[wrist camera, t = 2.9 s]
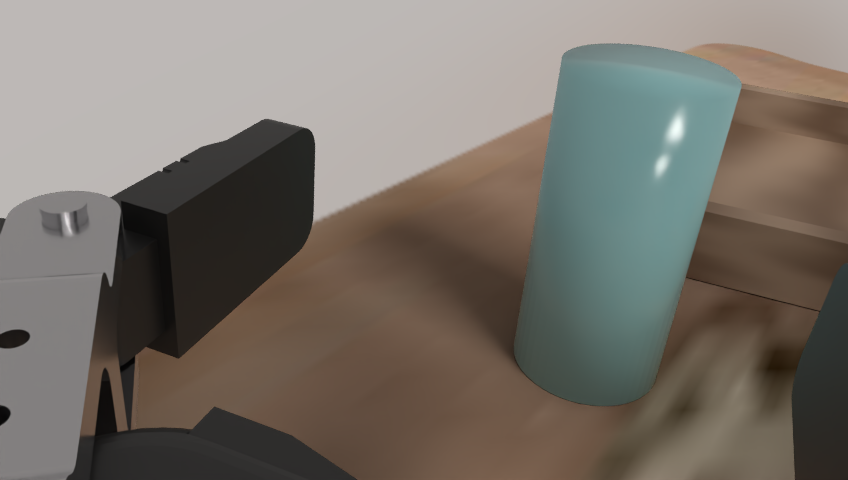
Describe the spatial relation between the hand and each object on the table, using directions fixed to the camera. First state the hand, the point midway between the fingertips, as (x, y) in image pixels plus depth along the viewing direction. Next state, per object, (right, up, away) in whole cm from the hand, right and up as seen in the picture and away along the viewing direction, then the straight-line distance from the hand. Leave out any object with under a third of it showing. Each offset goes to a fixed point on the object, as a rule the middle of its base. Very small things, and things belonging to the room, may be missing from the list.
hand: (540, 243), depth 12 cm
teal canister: (+4, -4, +14) cm, 15 cm away
